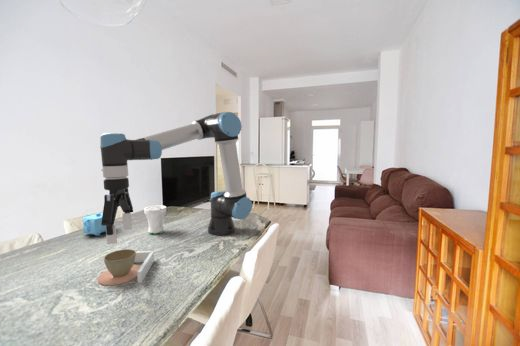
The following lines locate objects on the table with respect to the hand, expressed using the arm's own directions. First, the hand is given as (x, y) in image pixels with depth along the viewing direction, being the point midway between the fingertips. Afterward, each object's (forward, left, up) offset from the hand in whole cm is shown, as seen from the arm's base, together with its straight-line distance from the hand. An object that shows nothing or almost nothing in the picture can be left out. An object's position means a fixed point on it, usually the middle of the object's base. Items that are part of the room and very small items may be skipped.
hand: (120, 236), depth 83 cm
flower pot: (0, 0, -14) cm, 14 cm away
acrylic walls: (-1, -1, -14) cm, 14 cm away
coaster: (0, 0, -14) cm, 14 cm away
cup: (-1, -45, -15) cm, 47 cm away
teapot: (+30, -50, -15) cm, 60 cm away
